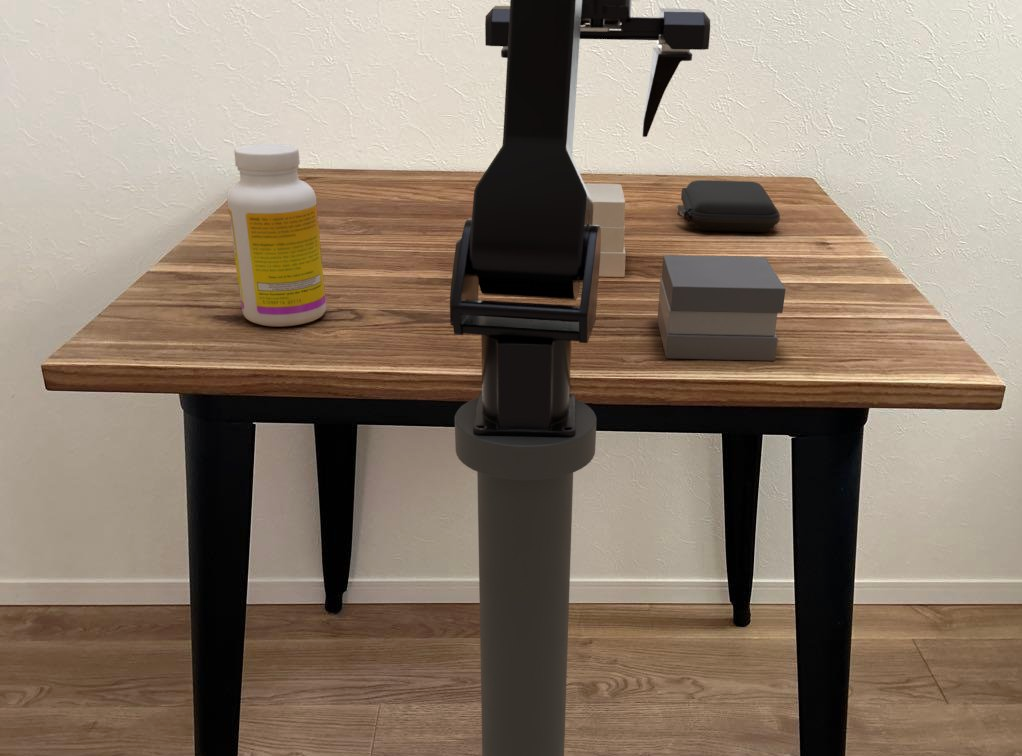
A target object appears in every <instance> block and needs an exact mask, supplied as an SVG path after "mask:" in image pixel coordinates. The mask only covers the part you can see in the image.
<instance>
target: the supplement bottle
mask: <svg viewBox="0 0 1022 756" xmlns="http://www.w3.org/2000/svg"><path fill="white" fill-rule="evenodd" d="M233 153H234V161H235V162H234V164H235V167H237V171H238V172H239V181H238V182H236V183H235V184H234V185H232V186H231V187H230V189H229V190H228V193H227V196H226V197H227V201H226V202H227V208H228V209H227V210H228V217H229V224H230V232H231V239H232V247H233V253H234V261H235V270H236V276H237V285H238V292H239V300H240V306H241V312H242V315H243V317H244V318H245V319H246V320H248V321H249V322H251V323H253V324H256V325H259V326H266V327H278V328H279V327H280V328H281V327H294V326H300V325H305V324H309V323H311V322H315V321H317V320H318V319H320V318H321V317H323V315H324V314H325V313H326V311H327V310H326V309H327V298H326V288H325V279H324V278H325V277H324V268H323V267H324V266H323V260H322V259H323V258H322V248H321V236H320V226H319V217H318V205H317V197H316V193H315V191H314V188H313V187H312V186H311V185H310V184H308V183H307V182H305V181H303V180H302V179H300V178H299V173H298V170H299V167H300V162H301V161H300V152H299V148H298V147H297V146H295V145H291V144H283V143H255V144H254V143H253V144H246V145H241V146H238V147H236V148H234V151H233Z"/></svg>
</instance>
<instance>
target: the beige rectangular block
mask: <svg viewBox="0 0 1022 756" xmlns="http://www.w3.org/2000/svg"><path fill="white" fill-rule="evenodd" d="M584 184H585V186H586V188H587V190H588V192H589V194H590V196H591V199H592V201H593V223H592V225H600V227H625V217H626V199H625V196H624V191H623V187H622V184H621V183H591V182H590V183H589V182H588V183H586V182H584Z"/></svg>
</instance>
